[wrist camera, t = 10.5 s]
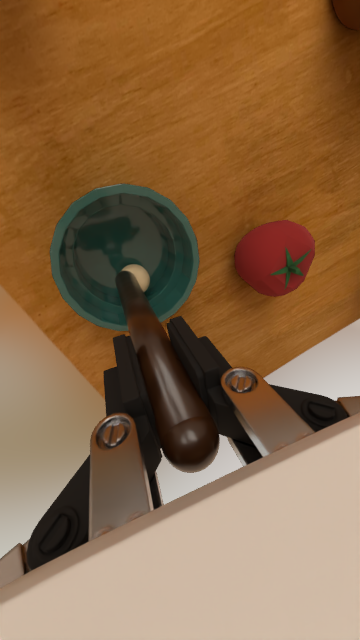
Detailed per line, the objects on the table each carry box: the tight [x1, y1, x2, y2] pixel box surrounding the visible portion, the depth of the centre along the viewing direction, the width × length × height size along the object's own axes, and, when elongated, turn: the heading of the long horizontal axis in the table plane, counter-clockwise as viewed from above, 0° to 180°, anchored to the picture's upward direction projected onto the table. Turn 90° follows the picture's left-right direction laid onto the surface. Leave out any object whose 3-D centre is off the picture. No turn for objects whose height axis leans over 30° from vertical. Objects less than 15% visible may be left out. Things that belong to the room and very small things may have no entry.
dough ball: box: [121, 264, 150, 292], centre depth 23 cm, size 3×3×3 cm
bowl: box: [50, 183, 199, 331], centre depth 21 cm, size 12×12×6 cm
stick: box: [115, 271, 219, 473], centre depth 14 cm, size 2×2×18 cm
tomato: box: [234, 220, 315, 297], centre depth 25 cm, size 8×8×7 cm
